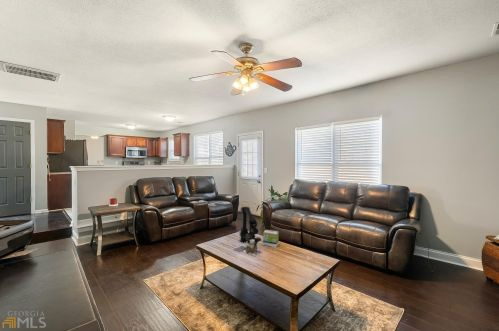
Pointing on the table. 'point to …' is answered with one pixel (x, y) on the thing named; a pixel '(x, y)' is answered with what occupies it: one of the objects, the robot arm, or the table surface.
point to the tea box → (270, 238)
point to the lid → (250, 244)
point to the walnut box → (250, 249)
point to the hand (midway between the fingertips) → (251, 246)
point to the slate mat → (240, 249)
